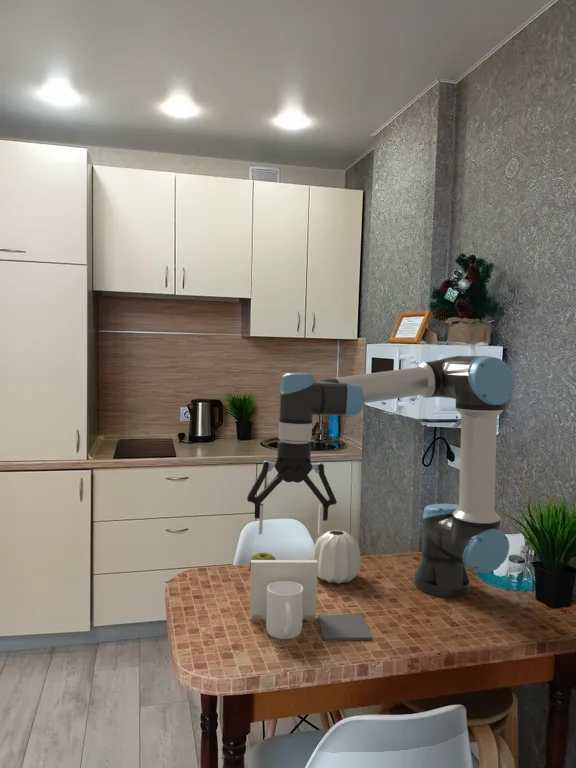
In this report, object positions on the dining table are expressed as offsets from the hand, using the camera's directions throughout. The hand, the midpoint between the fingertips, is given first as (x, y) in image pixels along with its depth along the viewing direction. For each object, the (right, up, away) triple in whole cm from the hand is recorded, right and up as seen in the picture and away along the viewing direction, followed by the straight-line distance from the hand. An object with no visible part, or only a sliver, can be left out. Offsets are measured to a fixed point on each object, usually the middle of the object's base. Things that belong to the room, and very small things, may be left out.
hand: (290, 533), depth 130 cm
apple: (-8, -22, +31) cm, 39 cm away
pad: (+13, -23, +4) cm, 27 cm away
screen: (-2, -23, +8) cm, 24 cm away
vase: (+13, -22, +34) cm, 42 cm away
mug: (-1, -23, -1) cm, 23 cm away
